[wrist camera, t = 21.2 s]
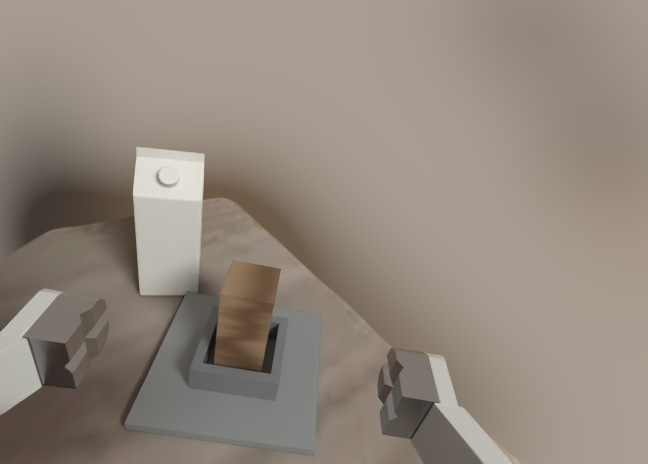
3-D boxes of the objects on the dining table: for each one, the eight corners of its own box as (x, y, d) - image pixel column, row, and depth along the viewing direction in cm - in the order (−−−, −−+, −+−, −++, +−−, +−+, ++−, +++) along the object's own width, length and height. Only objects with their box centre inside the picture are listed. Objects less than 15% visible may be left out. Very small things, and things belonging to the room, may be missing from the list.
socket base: (125, 429, 37) (121, 405, 34) (186, 296, 52) (187, 274, 49) (312, 455, 38) (321, 434, 36) (320, 319, 53) (326, 298, 51)
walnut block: (213, 374, 42) (219, 293, 36) (224, 338, 46) (232, 260, 40) (259, 381, 43) (274, 303, 36) (266, 345, 47) (280, 268, 40)
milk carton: (147, 260, 56) (141, 134, 45) (200, 262, 58) (205, 141, 47) (139, 296, 50) (130, 161, 40) (197, 296, 52) (203, 168, 42)
